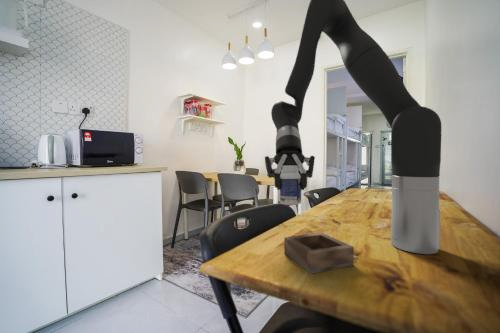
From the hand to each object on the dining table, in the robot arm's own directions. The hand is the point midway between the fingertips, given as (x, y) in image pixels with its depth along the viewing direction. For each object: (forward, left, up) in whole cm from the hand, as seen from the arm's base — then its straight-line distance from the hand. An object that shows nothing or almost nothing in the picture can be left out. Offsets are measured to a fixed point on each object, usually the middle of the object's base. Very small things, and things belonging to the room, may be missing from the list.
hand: (290, 187), depth 56 cm
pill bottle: (-1, -2, -5) cm, 5 cm away
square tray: (-1, +9, -14) cm, 17 cm away
